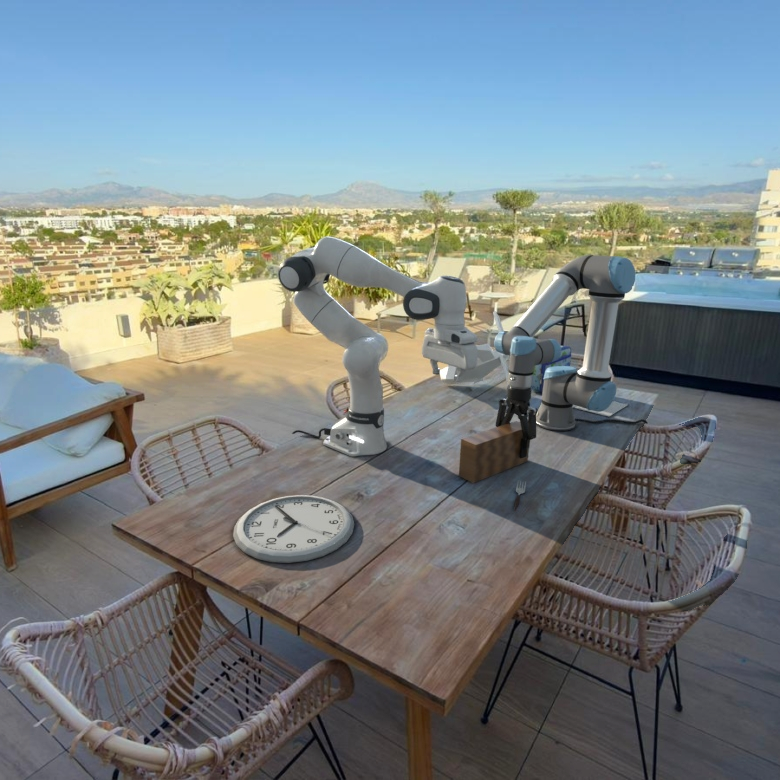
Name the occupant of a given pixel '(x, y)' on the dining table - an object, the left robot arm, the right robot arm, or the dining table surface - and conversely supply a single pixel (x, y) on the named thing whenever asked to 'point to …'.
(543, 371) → the lunch box
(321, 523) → the wall clock
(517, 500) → the fork
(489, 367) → the white plastic object
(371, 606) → the dining table surface
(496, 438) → the box
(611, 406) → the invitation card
